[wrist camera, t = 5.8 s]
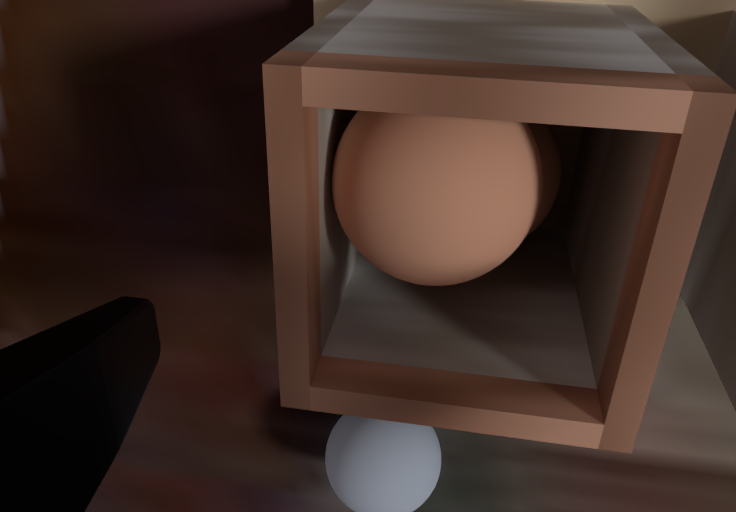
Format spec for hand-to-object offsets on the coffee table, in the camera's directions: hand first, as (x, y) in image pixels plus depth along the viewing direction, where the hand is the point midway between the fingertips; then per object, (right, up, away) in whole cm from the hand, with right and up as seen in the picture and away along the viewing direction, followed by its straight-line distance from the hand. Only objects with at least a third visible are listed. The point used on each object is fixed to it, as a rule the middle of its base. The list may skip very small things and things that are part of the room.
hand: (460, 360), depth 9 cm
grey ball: (0, -5, +15) cm, 16 cm away
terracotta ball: (+1, +2, +5) cm, 6 cm away
